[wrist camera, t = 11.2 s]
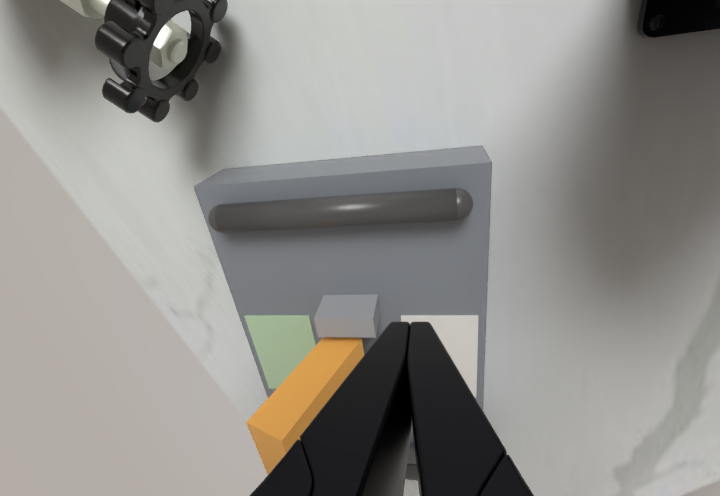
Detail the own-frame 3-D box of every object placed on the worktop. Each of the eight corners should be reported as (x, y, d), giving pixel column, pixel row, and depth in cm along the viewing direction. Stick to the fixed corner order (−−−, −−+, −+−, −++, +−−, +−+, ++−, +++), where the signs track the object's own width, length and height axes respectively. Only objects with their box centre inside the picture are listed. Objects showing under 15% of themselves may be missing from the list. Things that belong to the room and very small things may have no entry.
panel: (482, 145, 18) (500, 176, 13) (475, 436, 28) (484, 507, 23) (223, 169, 21) (168, 201, 16) (301, 425, 31) (281, 487, 26)
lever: (361, 338, 19) (281, 441, 14) (372, 403, 21) (306, 510, 17) (330, 329, 20) (246, 422, 15) (344, 392, 22) (274, 490, 18)
